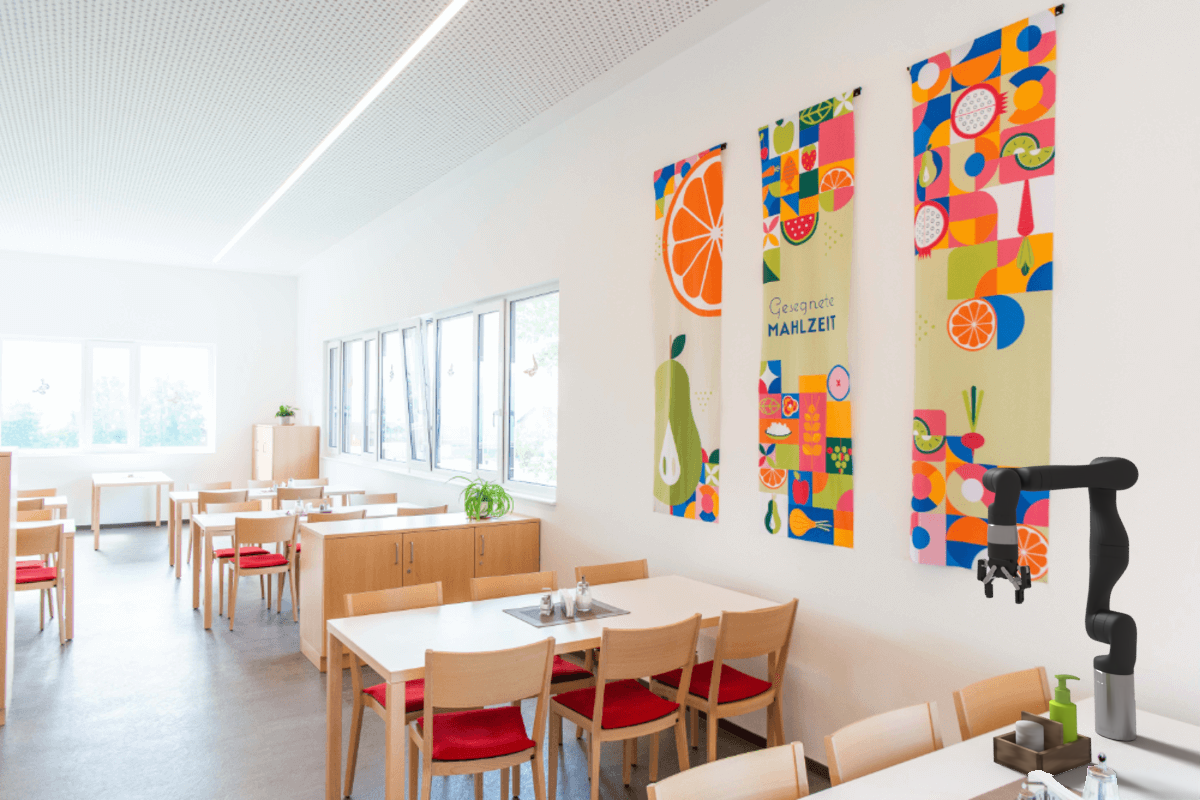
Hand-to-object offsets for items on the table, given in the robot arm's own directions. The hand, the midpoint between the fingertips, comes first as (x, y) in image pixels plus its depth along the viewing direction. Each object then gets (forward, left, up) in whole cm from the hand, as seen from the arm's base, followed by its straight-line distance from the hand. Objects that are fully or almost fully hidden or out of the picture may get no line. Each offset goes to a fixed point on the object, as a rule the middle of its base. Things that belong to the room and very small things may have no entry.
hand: (1003, 600), depth 210 cm
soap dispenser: (+2, +17, -35) cm, 39 cm away
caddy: (+8, +15, -36) cm, 40 cm away
